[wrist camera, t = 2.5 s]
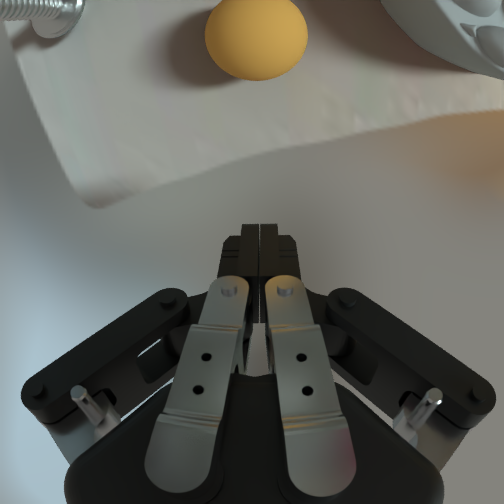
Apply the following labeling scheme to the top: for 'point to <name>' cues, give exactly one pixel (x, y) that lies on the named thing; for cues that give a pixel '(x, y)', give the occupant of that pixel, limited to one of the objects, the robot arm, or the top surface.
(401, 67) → the top surface
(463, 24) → the lumpy-topped squat cylinder
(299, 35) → the ball
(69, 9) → the screw
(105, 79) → the top surface
